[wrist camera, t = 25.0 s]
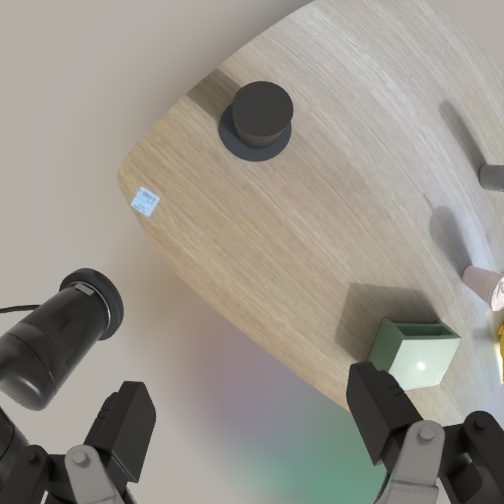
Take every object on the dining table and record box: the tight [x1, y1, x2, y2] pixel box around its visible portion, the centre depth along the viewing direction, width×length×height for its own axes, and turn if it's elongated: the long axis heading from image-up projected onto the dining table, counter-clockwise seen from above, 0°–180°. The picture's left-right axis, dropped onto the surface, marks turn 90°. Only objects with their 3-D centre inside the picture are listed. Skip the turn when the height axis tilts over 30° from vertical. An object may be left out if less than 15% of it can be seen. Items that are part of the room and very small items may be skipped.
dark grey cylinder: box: [232, 81, 293, 149], centre depth 27 cm, size 6×6×10 cm
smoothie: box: [462, 266, 504, 311], centre depth 32 cm, size 6×6×14 cm
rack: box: [367, 318, 462, 390], centre depth 38 cm, size 14×10×7 cm
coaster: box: [220, 103, 291, 161], centre depth 32 cm, size 9×9×1 cm
